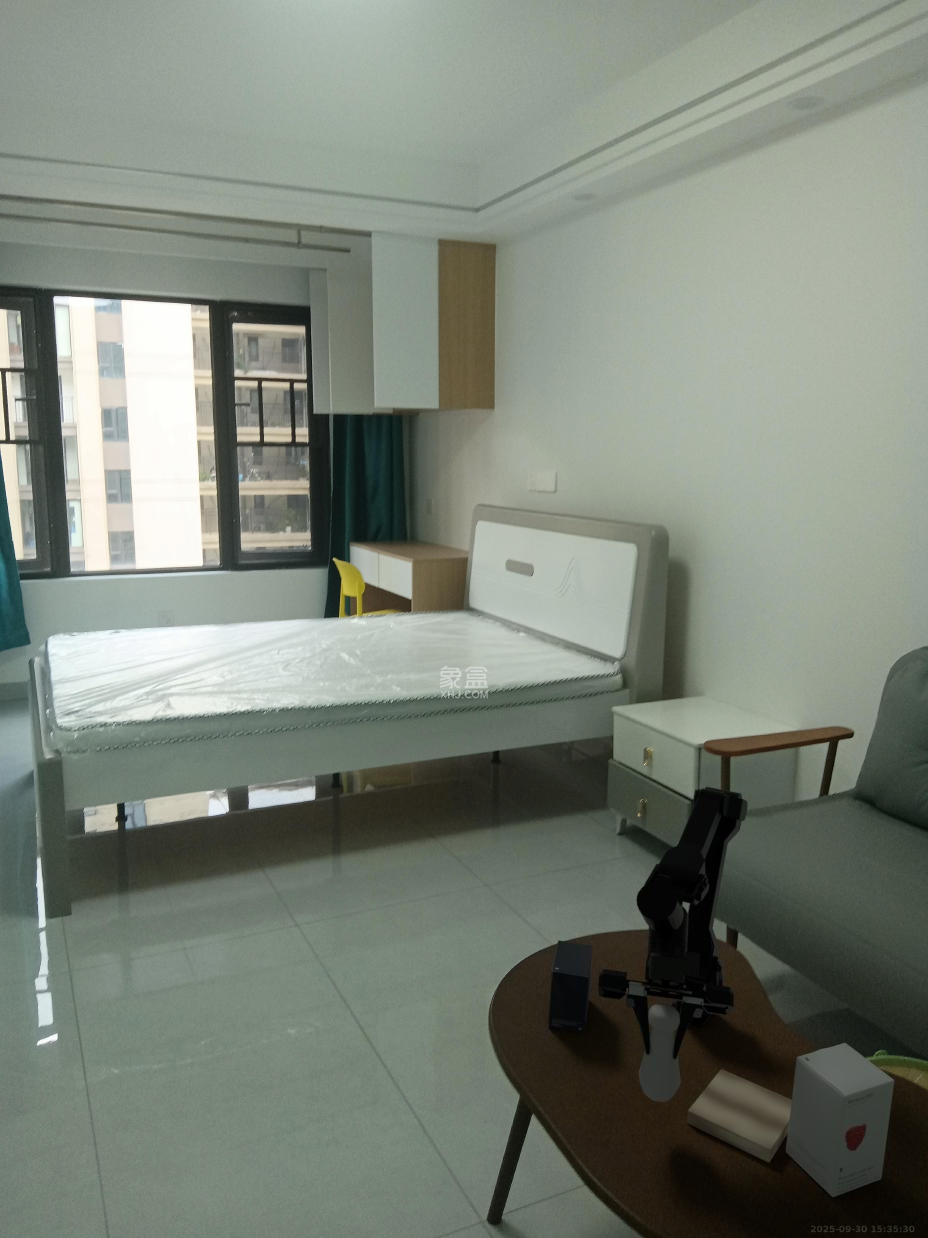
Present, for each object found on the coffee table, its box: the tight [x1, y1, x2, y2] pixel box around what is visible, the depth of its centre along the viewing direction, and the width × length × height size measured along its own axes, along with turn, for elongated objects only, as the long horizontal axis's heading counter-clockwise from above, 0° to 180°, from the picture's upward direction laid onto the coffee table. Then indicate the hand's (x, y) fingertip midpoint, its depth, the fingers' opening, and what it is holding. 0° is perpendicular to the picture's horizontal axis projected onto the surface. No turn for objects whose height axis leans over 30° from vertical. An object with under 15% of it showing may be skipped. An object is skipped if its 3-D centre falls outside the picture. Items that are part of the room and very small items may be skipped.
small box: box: [547, 940, 593, 1034], centre depth 160 cm, size 11×6×10 cm, turn 168°
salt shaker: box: [638, 1002, 682, 1103], centre depth 132 cm, size 6×6×13 cm
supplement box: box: [785, 1042, 895, 1198], centre depth 127 cm, size 9×9×15 cm
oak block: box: [686, 1068, 792, 1163], centre depth 136 cm, size 12×12×2 cm
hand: (661, 1056), depth 130 cm, fingers closed on salt shaker, 3 cm apart
